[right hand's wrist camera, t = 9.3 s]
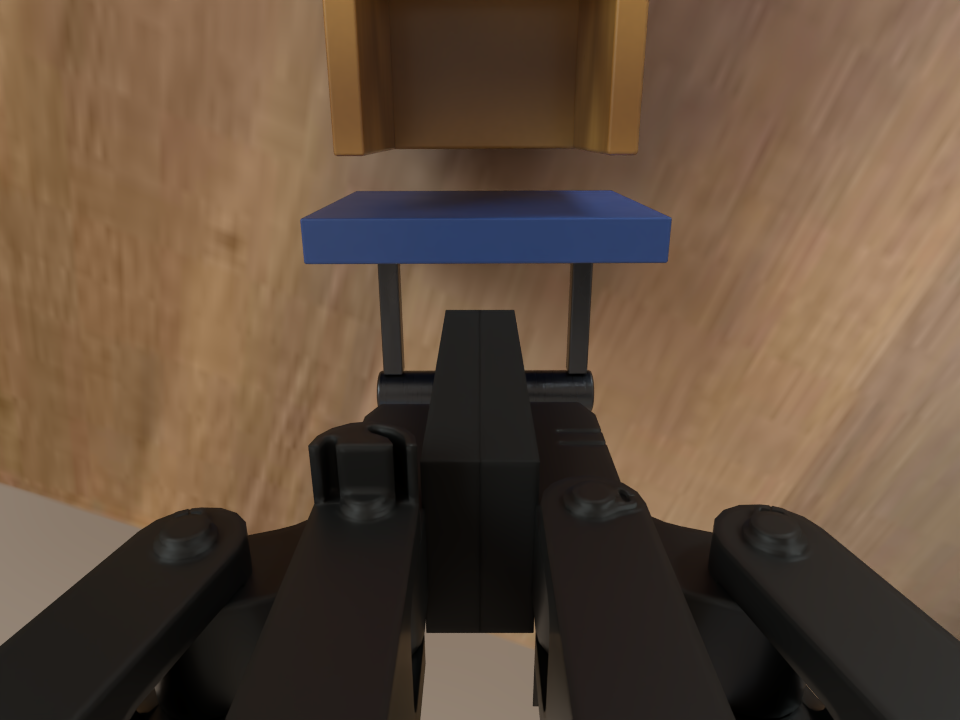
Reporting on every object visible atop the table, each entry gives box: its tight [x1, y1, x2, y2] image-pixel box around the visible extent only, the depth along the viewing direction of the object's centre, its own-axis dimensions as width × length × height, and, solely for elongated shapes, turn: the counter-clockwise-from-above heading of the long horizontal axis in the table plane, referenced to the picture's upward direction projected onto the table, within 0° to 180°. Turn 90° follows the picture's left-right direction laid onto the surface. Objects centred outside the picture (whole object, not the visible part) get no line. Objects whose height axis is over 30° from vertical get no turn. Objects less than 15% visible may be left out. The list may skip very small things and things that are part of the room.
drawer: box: [300, 0, 672, 411], centre depth 19 cm, size 24×10×8 cm, turn 0°
